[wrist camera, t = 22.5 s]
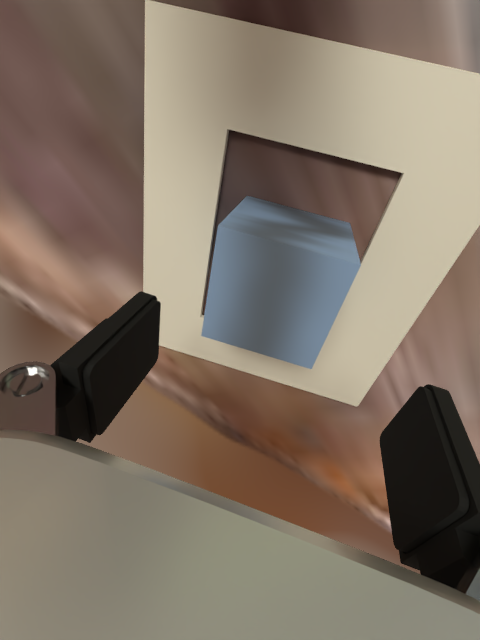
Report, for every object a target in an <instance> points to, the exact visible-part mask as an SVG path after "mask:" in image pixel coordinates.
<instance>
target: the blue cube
mask: <svg viewBox="0 0 480 640" xmlns="http://www.w3.org/2000/svg"><path fill="white" fill-rule="evenodd" d="M360 266H361V263H360V259H359V256H358V252H357V248H356V244H355V240H354V237H353V233H352V229H351V225H350V223H348V222H344V221H340V220H337V219H333V218H329V217H325V216H322V215H318V214H314V213H310V212H307V211H303V210H299V209H295V208H292V207H288V206H284V205H280V204H276V203H273V202H269V201H265V200H261V199H258V198H254V197H250V196H246V197H245V198H244V199H243V200H242V201H241V202H240V203H239V205H238V206H237V207H236V208H235V209H234V210H233V211H232V212H231V213H230V214H229V215H228V216H227V217H226V218H225V219H224V220H223V221H222V222H221V223H220V224H219V225H218V229H217V236H216V242H215V249H214V255H213V262H212V269H211V275H210V282H209V288H208V295H207V301H206V308H205V314H204V321H203V327H202V334H201V336H203V337H206V338H210V339H213V340H216V341H220V342H223V343H226V344H229V345H233V346H236V347H239V348H243V349H246V350H249V351H253V352H256V353H259V354H262V355H266V356H269V357H272V358H276V359H279V360H282V361H285V362H289V363H292V364H295V365H299V366H302V367H305V368H309V369H312V367H313V365H314V363H315V361H316V359H317V357H318V355H319V352H320V350H321V348H322V346H323V344H324V342H325V340H326V338H327V336H328V333H329V331H330V329H331V327H332V325H333V323H334V321H335V319H336V317H337V315H338V312H339V310H340V308H341V306H342V304H343V302H344V300H345V298H346V296H347V293H348V291H349V289H350V287H351V285H352V283H353V281H354V279H355V277H356V275H357V272H358V270H359V268H360Z"/></svg>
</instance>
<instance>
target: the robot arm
mask: <svg viewBox="0 0 480 640" xmlns="http://www.w3.org/2000/svg"><path fill="white" fill-rule="evenodd" d="M160 311H161V303H160V301H157V297H156V296H154V295H151V294H148V293H145V292H139V293H137V294H136V295H135V296H134V297H133V298H132V299H130V300H129V301H128V302H127V303H126V304H125V305H123V306H122V307H121V308H120V309H119V310H118V311H116V312H115V313H114V314H113V315H112V316H111V317H109V318H108V319H105V320H103V321H102V322H101V323H100V324H99V325H97V326H96V327H95V328H94V329H93V330H91V331H90V332H89V333H88V334H87V335H86V336H84V337H83V338H82V339H81V340H80V341H79V342H77V343H76V344H75V345H74V346H73V347H72V348H70V349H69V350H68V351H67V352H66V353H65V354H63V355H62V356H61V357H60V358H59V359H57V360H56V361H55V362H54V363H53V364H51V365H48V364H45V363H41V362H25V363H21V364H17V365H15V366H13V367H10V368H8V369H6V370H5V371H3V372H2V373H1V374H0V640H480V464H479V461H478V459H477V457H476V454H475V452H474V450H473V447H472V445H471V442H470V440H469V438H468V435H467V433H466V431H465V428H464V426H463V423H462V421H461V419H460V416H459V414H458V412H457V409H456V407H455V404H454V402H453V400H452V397H451V395H450V393H449V391H447V390H445V389H442V388H439V387H436V386H433V385H425V386H424V387H419V388H418V389H417V390H416V391H415V392H414V393H413V395H412V396H411V397H410V398H409V400H408V401H407V402H406V403H405V405H404V406H403V407H402V408H401V410H400V411H399V412H398V413H397V414H396V416H395V417H394V418H393V419H392V421H391V422H390V423H389V424H388V426H387V427H386V428H385V429H384V431H383V432H382V434H381V436H380V448H381V455H382V462H383V469H384V477H385V484H386V491H387V499H388V506H389V513H390V521H391V528H392V535H393V542H394V545H395V548H396V549H398V550H399V554H400V561H401V563H402V564H405V565H407V566H410V567H412V568H415V569H418V570H420V573H421V575H420V574H418V573H415V572H413V571H411V570H408V569H406V568H403V567H401V566H399V565H396V564H394V563H391V562H389V561H387V560H384V559H381V558H379V557H376V556H374V555H371V554H369V553H366V552H364V551H361V550H358V549H356V548H353V547H351V546H348V545H346V544H343V543H341V542H338V541H336V540H333V539H331V538H328V537H326V536H323V535H320V534H318V533H315V532H313V531H310V530H307V529H305V528H302V527H300V526H297V525H295V524H292V523H290V522H287V521H284V520H282V519H280V518H277V517H274V516H272V515H269V514H267V513H264V512H262V511H259V510H256V509H254V508H251V507H249V506H246V505H243V504H241V503H238V502H236V501H233V500H230V499H228V498H225V497H222V496H220V495H217V494H215V493H212V492H210V491H207V490H205V489H202V488H199V487H197V486H194V485H192V484H189V483H186V482H184V481H181V480H178V479H176V478H173V477H171V476H168V475H165V474H163V473H160V472H158V471H155V470H152V469H150V468H147V467H145V466H142V465H139V464H137V463H134V462H131V461H129V460H126V459H123V458H120V457H118V456H115V455H112V454H109V453H107V452H104V451H101V450H98V449H96V448H93V447H90V446H87V445H84V444H82V443H79V442H76V440H77V439H78V438H79V439H82V440H84V441H87V442H89V443H90V442H91V441H92V440H93V438H94V437H95V436H96V434H97V435H101V434H102V433H103V432H104V431H105V430H106V428H107V427H108V426H109V424H110V423H111V422H112V420H113V419H114V418H115V416H116V415H117V414H118V412H119V411H120V410H121V408H122V407H123V406H124V404H125V403H126V402H127V400H128V399H129V398H130V396H131V395H132V394H133V392H134V391H135V390H136V388H137V387H138V386H139V384H140V383H141V382H142V380H143V379H144V378H145V376H146V375H147V374H148V372H149V371H150V370H151V369H152V367H153V366H154V365H155V363H156V361H157V359H158V352H159V332H160Z"/></svg>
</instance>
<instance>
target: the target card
mask: <svg viewBox="0 0 480 640" xmlns="http://www.w3.org/2000/svg"><path fill="white" fill-rule="evenodd" d="M229 130H233V131H237V132H241V133H245V134H249V135H253V136H257V137H261V138H265V139H269V140H273V141H277V142H281V143H285V144H289V145H293V146H297V147H301V148H305V149H309V150H313V151H317V152H321V153H325V154H329V155H333V156H337V157H341V158H345V159H349V160H353V161H357V162H361V163H365V164H369V165H373V166H377V167H381V168H385V169H389V170H393V171H397V172H401V173H402V174H401V176H400V178H399V180H398V182H397V184H396V187H395V189H394V191H393V193H392V195H391V197H390V199H389V201H388V204H387V206H386V208H385V210H384V212H383V214H382V216H381V219H380V221H379V223H378V225H377V227H376V229H375V231H374V233H373V236H372V238H371V240H370V242H369V244H368V246H367V248H366V250H365V253H364V255H363V257H362V259H361V261H360V263H361V266H360V268H359V270H358V272H357V275H356V277H355V279H354V281H353V283H352V285H351V287H350V289H349V291H348V293H347V296H346V298H345V300H344V302H343V304H342V306H341V308H340V310H339V312H338V315H337V317H336V319H335V321H334V323H333V325H332V327H331V329H330V331H329V333H328V336H327V338H326V340H325V342H324V344H323V346H322V348H321V350H320V352H319V355H318V357H317V359H316V361H315V363H314V365H313V367H312V369H309V368H305V367H302V366H299V365H295V364H292V363H289V362H285V361H282V360H279V359H276V358H272V357H269V356H266V355H262V354H259V353H256V352H253V351H249V350H246V349H243V348H239V347H236V346H233V345H229V344H226V343H223V342H220V341H216V340H213V339H210V338H206V337H203V336H201V334H202V327H203V321H204V315H202V311H203V304H204V297H205V291H206V284H207V277H208V270H209V263H210V257H211V250H212V243H213V236H214V229H215V223H216V216H217V209H218V202H219V195H220V189H221V182H222V175H223V168H224V162H225V155H226V148H227V141H228V134H229ZM479 225H480V74H478V73H474V72H469V71H465V70H460V69H456V68H451V67H447V66H442V65H438V64H433V63H429V62H424V61H420V60H415V59H411V58H406V57H402V56H397V55H393V54H388V53H384V52H379V51H375V50H370V49H366V48H361V47H357V46H353V45H348V44H344V43H339V42H335V41H330V40H326V39H321V38H317V37H312V36H308V35H303V34H299V33H294V32H290V31H285V30H281V29H276V28H272V27H267V26H263V25H258V24H254V23H249V22H245V21H240V20H236V19H231V18H227V17H222V16H218V15H213V14H209V13H204V12H200V11H195V10H191V9H187V8H182V7H178V6H173V5H169V4H164V3H160V2H155V1H151V0H145V103H144V281H143V292H145V293H148V294H151V295H154V296H156V297H157V301H160V303H161V311H160V332H159V345H160V346H163V347H166V348H169V349H173V350H176V351H179V352H182V353H185V354H189V355H192V356H195V357H198V358H202V359H205V360H208V361H211V362H214V363H218V364H221V365H224V366H227V367H231V368H234V369H237V370H240V371H244V372H247V373H250V374H253V375H256V376H260V377H263V378H266V379H269V380H273V381H276V382H279V383H282V384H285V385H289V386H292V387H295V388H298V389H302V390H305V391H308V392H311V393H315V394H318V395H321V396H324V397H327V398H331V399H334V400H337V401H340V402H344V403H347V404H350V405H353V406H356V407H358V405H359V404H360V402H361V401H362V399H363V398H364V396H365V395H366V393H367V392H368V390H369V389H370V387H371V386H372V384H373V383H374V381H375V380H376V378H377V377H378V375H379V374H380V372H381V371H382V369H383V368H384V366H385V365H386V363H387V362H388V360H389V359H390V357H391V356H392V354H393V353H394V352H395V350H396V349H397V347H398V346H399V344H400V343H401V341H402V340H403V338H404V337H405V335H406V334H407V332H408V331H409V329H410V328H411V326H412V325H413V323H414V322H415V320H416V319H417V317H418V316H419V314H420V313H421V311H422V310H423V308H424V307H425V305H426V304H427V302H428V301H429V299H430V298H431V296H432V295H433V293H434V292H435V291H436V289H437V288H438V286H439V285H440V283H441V282H442V280H443V279H444V277H445V276H446V274H447V273H448V271H449V270H450V268H451V267H452V265H453V264H454V262H455V261H456V259H457V258H458V256H459V255H460V253H461V252H462V250H463V249H464V247H465V246H466V244H467V243H468V241H469V240H470V238H471V237H472V235H473V234H474V232H475V231H476V229H477V228H478V227H479Z"/></svg>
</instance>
